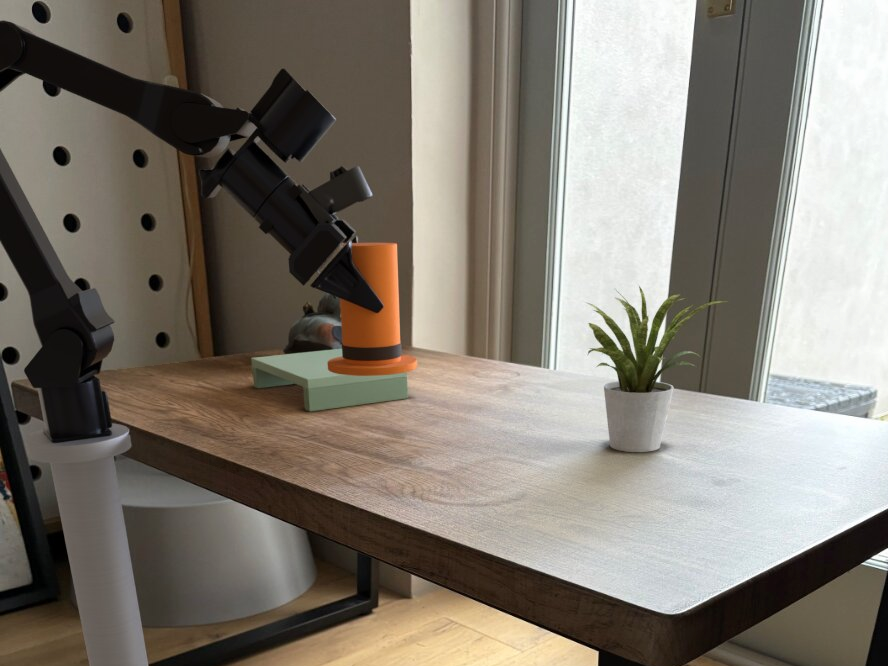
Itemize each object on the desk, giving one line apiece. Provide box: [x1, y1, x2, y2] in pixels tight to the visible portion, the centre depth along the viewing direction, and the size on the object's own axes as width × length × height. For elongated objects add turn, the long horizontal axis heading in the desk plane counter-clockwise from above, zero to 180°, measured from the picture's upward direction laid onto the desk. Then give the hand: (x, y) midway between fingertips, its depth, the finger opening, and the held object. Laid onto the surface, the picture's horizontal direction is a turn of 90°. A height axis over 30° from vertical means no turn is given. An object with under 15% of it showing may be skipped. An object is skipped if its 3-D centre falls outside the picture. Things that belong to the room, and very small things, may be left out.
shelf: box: [250, 349, 409, 412], centre depth 126 cm, size 14×20×4 cm
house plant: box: [583, 285, 729, 453], centre depth 95 cm, size 14×14×16 cm
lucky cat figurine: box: [282, 292, 343, 355], centre depth 149 cm, size 15×12×14 cm
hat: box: [328, 242, 418, 376], centre depth 102 cm, size 10×10×13 cm
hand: (382, 306), depth 102 cm, fingers closed on hat, 6 cm apart
